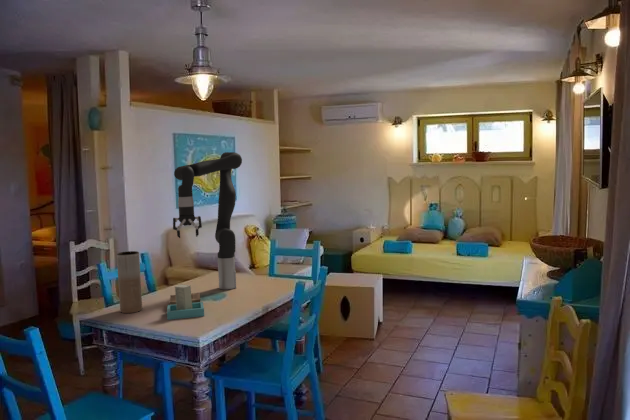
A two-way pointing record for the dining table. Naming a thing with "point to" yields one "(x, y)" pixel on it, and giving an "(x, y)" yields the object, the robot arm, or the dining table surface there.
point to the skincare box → (183, 297)
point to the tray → (185, 311)
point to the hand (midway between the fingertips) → (188, 237)
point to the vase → (129, 282)
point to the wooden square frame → (194, 296)
